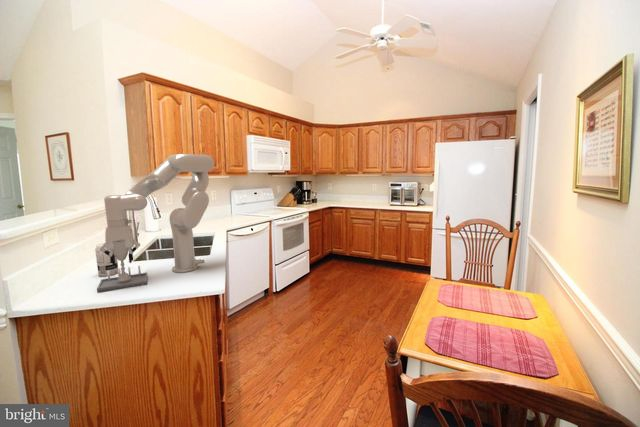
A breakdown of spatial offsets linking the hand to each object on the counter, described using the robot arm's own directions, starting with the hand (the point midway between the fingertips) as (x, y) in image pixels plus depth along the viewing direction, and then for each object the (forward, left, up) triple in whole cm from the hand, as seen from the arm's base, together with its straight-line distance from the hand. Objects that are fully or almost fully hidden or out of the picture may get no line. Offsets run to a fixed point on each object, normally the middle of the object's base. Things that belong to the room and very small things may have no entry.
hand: (122, 262), depth 133 cm
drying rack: (0, 0, -10) cm, 10 cm away
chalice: (0, 0, -8) cm, 8 cm away
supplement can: (+8, -20, -10) cm, 24 cm away
